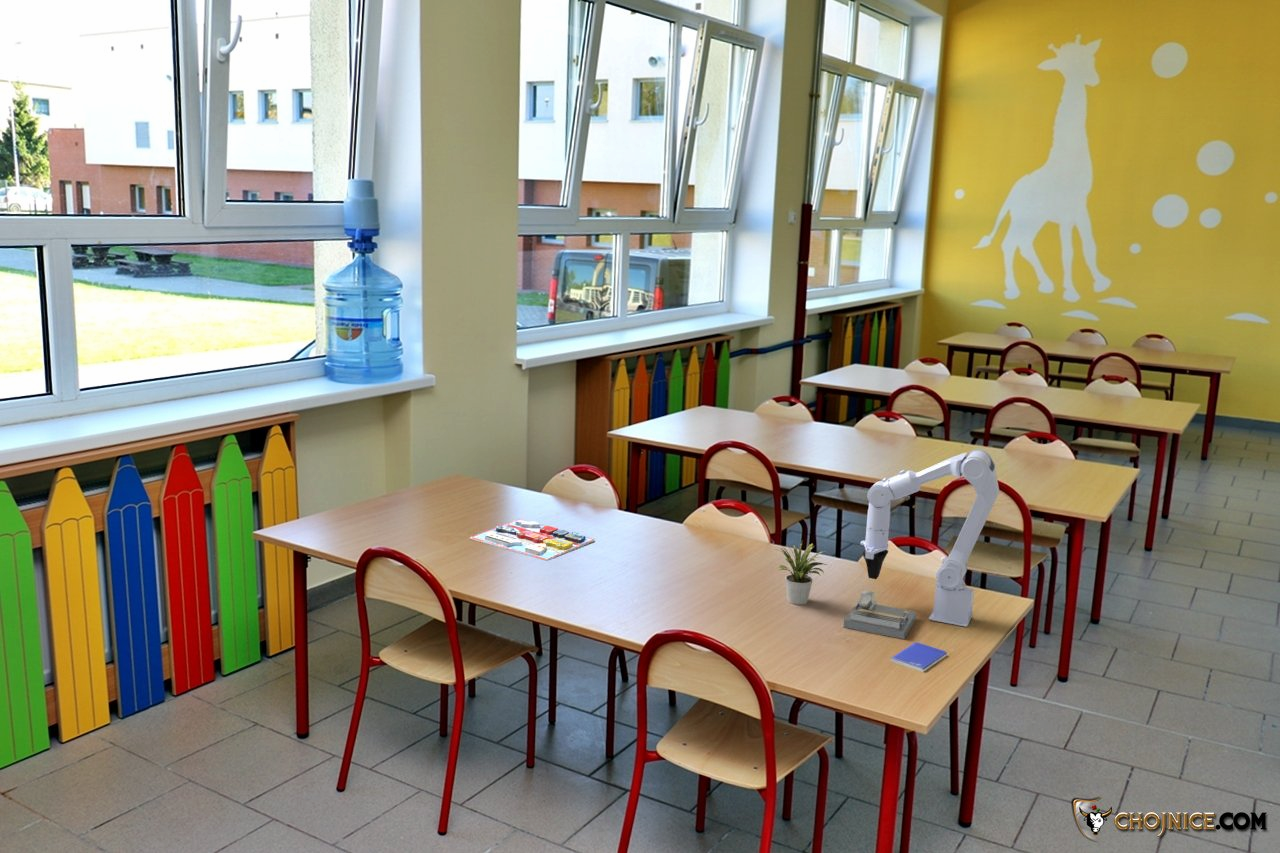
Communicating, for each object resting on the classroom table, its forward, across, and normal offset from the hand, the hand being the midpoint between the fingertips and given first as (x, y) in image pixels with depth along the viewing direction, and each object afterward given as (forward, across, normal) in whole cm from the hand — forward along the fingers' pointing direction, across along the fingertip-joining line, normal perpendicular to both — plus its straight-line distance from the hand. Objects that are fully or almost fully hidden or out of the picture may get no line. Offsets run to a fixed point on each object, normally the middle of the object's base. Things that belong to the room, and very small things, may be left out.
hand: (873, 577), depth 286 cm
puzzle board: (+9, 0, -104) cm, 104 cm away
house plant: (+8, +8, -18) cm, 22 cm away
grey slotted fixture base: (+8, +12, +5) cm, 15 cm away
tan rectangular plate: (+5, +13, +5) cm, 15 cm away
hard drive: (+8, +28, +18) cm, 34 cm away
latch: (+6, +7, 0) cm, 9 cm away
